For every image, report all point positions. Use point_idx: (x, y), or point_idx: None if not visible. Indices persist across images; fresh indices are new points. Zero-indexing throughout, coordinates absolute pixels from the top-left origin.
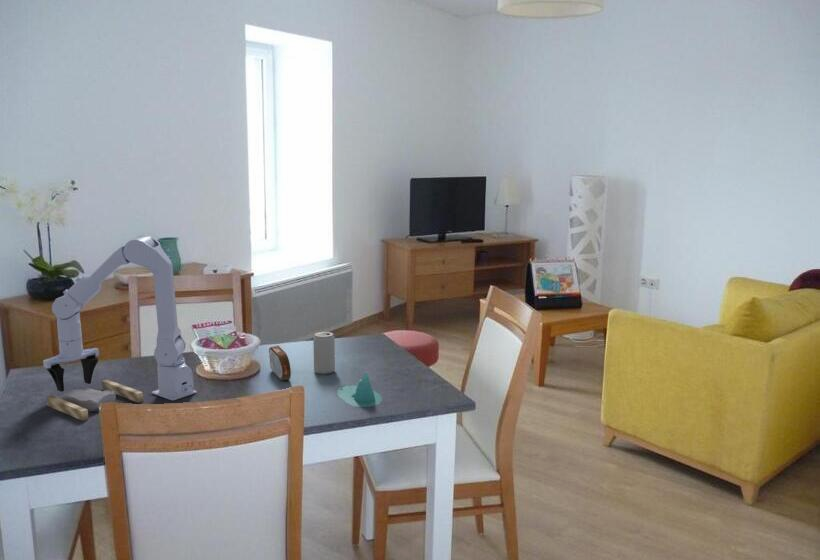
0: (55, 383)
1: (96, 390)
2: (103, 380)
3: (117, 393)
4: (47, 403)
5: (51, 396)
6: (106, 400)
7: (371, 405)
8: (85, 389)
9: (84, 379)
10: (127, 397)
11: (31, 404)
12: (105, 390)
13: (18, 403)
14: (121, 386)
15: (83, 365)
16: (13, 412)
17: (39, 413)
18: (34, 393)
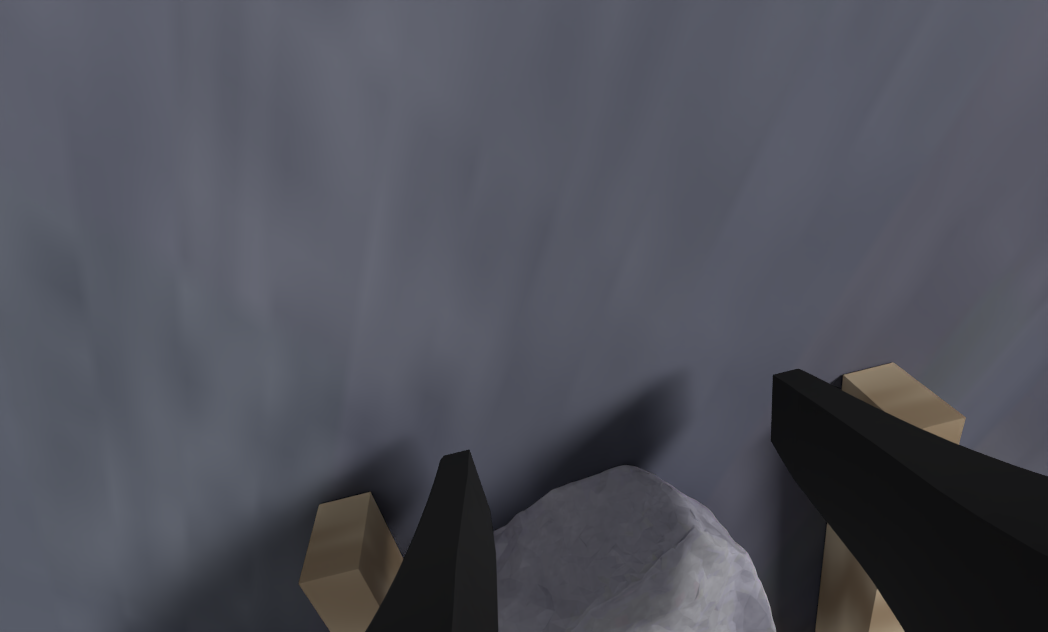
0: (421, 525)
1: (726, 581)
2: (924, 427)
3: (833, 548)
4: (315, 526)
5: (344, 596)
6: None
7: None
8: (646, 625)
9: (795, 397)
10: (822, 624)
11: (172, 405)
12: (766, 624)
13: (13, 301)
14: (889, 619)
15: (963, 549)
16: (6, 512)
17: (242, 609)
18: (202, 17)
